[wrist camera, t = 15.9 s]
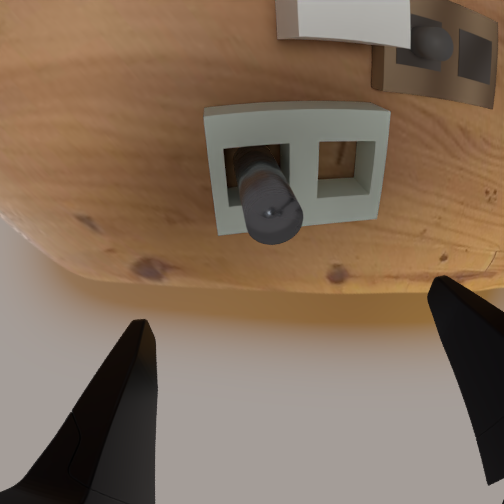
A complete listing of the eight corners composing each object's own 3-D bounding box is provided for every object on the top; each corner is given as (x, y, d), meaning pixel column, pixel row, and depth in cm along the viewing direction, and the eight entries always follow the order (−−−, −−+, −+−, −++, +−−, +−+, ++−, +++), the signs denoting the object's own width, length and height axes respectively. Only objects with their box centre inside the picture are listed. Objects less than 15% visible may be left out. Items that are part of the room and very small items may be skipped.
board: (484, 20, 13) (517, 26, 10) (479, 103, 17) (511, 118, 14) (370, -17, 12) (401, -25, 9) (371, 87, 16) (401, 97, 13)
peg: (272, 140, 18) (304, 191, 12) (273, 177, 19) (302, 241, 14) (231, 144, 18) (243, 197, 12) (234, 180, 19) (247, 247, 14)
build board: (370, 102, 17) (390, 111, 15) (361, 200, 21) (376, 218, 19) (204, 107, 16) (203, 116, 14) (216, 214, 20) (218, 235, 18)
